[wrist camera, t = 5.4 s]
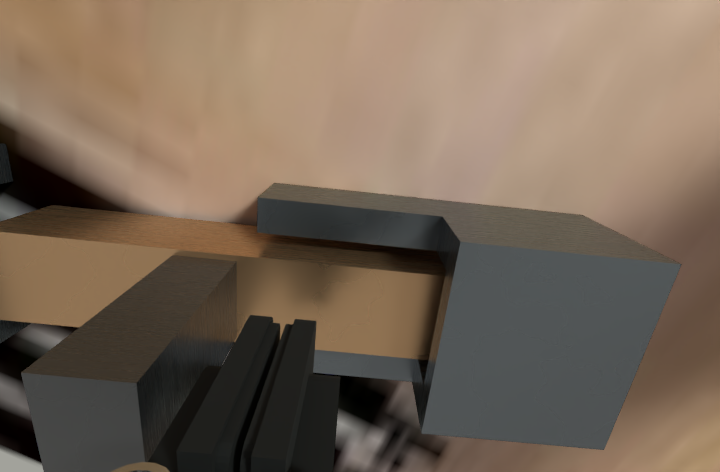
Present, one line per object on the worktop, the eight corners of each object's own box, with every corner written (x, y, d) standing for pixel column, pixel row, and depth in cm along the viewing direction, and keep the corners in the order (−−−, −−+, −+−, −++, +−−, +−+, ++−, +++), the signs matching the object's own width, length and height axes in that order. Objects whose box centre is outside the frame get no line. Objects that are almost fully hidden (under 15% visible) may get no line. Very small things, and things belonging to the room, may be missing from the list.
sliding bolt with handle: (464, 247, 15) (584, 415, 7) (450, 317, 16) (539, 536, 8) (52, 205, 14) (-341, 330, 6) (65, 280, 15) (-260, 469, 7)
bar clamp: (585, 205, 14) (700, 256, 10) (536, 364, 17) (607, 469, 12) (-141, 128, 14) (-420, 141, 9) (-84, 305, 16) (-279, 391, 11)
